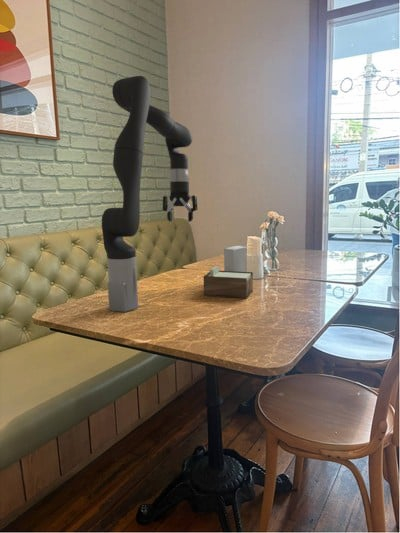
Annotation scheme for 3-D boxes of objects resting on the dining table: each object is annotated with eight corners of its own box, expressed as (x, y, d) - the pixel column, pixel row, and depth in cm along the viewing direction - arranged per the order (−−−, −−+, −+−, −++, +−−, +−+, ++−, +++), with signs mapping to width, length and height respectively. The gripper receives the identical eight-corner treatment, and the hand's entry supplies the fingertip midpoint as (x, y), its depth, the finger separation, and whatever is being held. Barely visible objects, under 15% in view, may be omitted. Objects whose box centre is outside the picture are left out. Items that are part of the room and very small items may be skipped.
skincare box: (237, 279, 171) (237, 245, 168) (247, 281, 166) (247, 246, 163) (223, 282, 166) (223, 247, 163) (233, 284, 161) (233, 248, 158)
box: (246, 298, 140) (246, 278, 139) (203, 295, 145) (203, 276, 144) (252, 291, 150) (252, 272, 149) (212, 288, 155) (212, 270, 154)
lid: (245, 281, 140) (245, 272, 139) (206, 279, 144) (206, 270, 144) (251, 276, 149) (251, 267, 148) (214, 274, 153) (213, 265, 153)
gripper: (159, 180, 156) (160, 221, 159) (193, 180, 152) (193, 222, 155) (166, 181, 163) (167, 220, 166) (199, 180, 159) (199, 221, 162)
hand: (180, 221), depth 161 cm, fingers open, 8 cm apart
